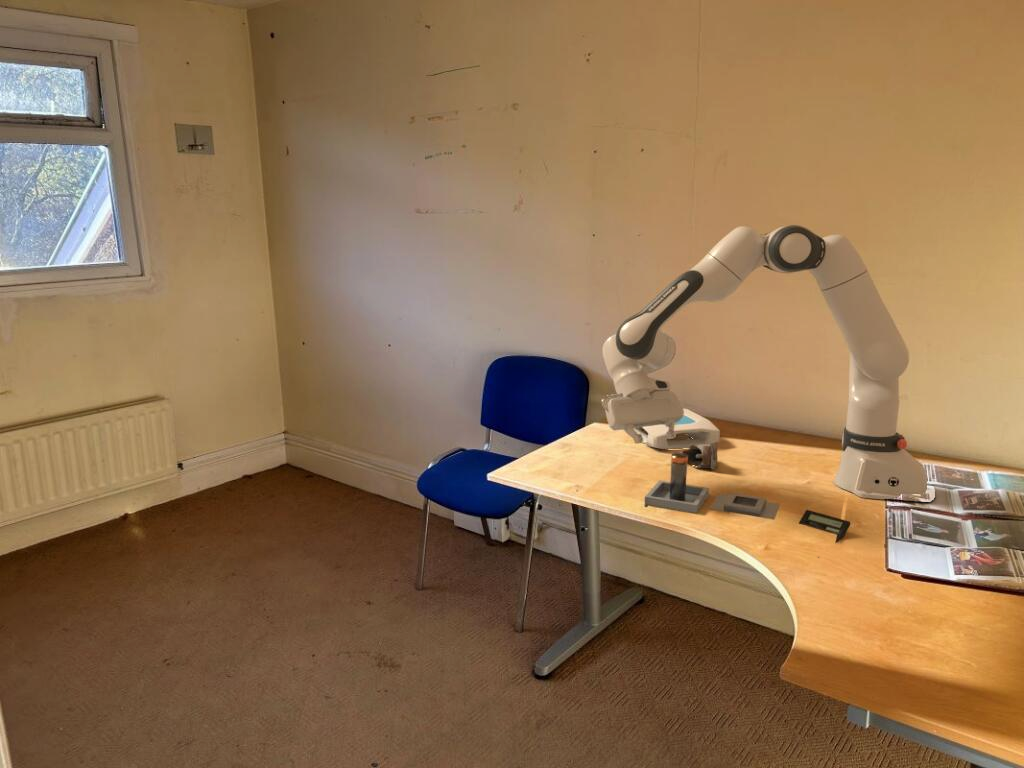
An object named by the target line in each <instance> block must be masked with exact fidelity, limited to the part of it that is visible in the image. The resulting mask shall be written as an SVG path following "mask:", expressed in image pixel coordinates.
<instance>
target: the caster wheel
mask: <svg viewBox="0 0 1024 768" xmlns="http://www.w3.org/2000/svg"><path fill="white" fill-rule="evenodd" d="M717 443H718V442H717ZM717 443H713V444H703V445H691V446H690V449H683V450H682V451H681V453H683V454H686V455H688V462H690V465H691V464H692V465H695V466H697V467H694V468H693V469H707V468H708V469H711V470H715V469H718V468H719V467H718V465H719V464H718V463H719V462H718V444H717Z"/></svg>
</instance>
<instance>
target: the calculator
mask: <svg viewBox="0 0 1024 768" xmlns="http://www.w3.org/2000/svg"><path fill="white" fill-rule="evenodd" d="M798 524H799V525H803V526H806V527H809V528H813V529H815V530H816V529H817V530H819V531H823V532H826V533H831V534H833V535H836V537H835V542H834V543H835V545H837V543H838V542H840V541H841V540H842V539H844V537H845V534H846V533H847V531H848V530H849V528H850V526H851V521H849V520H845V519H843V518H838V517H836V516H831V515H828V514H823V513H820V512H816V511H812V510H809V509H806V510H805V511H804V513H803V515H802V517H801V519H800V520H799V521H798Z"/></svg>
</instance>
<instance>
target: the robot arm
mask: <svg viewBox="0 0 1024 768" xmlns="http://www.w3.org/2000/svg"><path fill="white" fill-rule="evenodd" d="M760 267H764V268H766V269H768V270H770V271H773V272H776V273H780V274H792V273H797V272H802V271H808V272H809V273H810V274H811V275H812V276H813V278H814V279H815V280H816V281H815V282H816V283H817V285H818V288H819V290H820V292H821V295H822V296H823V298H824V300H825V302H826V304H827V305H826V306H827V307H828V309H829V311H830V312H831V315H832V317H833V319H834V321H835V323H836V325H837V327H838V329H839V331H840V332H841V335H842V337H843V339H844V341H845V343H846V344H847V346H848V349H849V351H850V353H849V370H848V371H849V373H848V376H849V377H848V381H849V382H848V403H847V414H846V422H845V423H846V424H845V427H844V428H843V432H842V439H841V447H842V448H841V450H842V454H841V456H840V457H841V459H840V461H839V464H838V465H839V466H838V468H837V472H836V474H835V476H834V479H833V482H834V484H835V485H836V486H837V487H839V488H841V489H843V490H845V491H848V492H851V493H853V494H854V495H856V496H857V497H860V498H863V499H875V500H884V499H888V498H895V497H899V496H900V495H901V494H923V493H925V492H926V490H927V482H928V477H927V472H926V469H925V467H924V465H923V464H922V463H921V462H920V461H919V460H918V459H916V458H915V457H914V456H912V455H911V454H910V452H908V451H906V448H907V446H908V442H907V441H906V440H905V437H904V435H903V433H901V434H900V433H898V432H897V427H898V426H897V425H898V417H899V407H900V393H899V391H900V387H899V386H900V385H899V384H900V383H899V380H900V379H899V378H900V376H902V375H903V374H904V373H905V371H906V370H907V368H908V365H909V362H910V353H909V348H908V346H907V345H906V343H905V340H904V339H903V337H902V334H901V333H900V331H899V329H898V327H897V326H896V324H895V321H894V320H893V317H892V316H891V313H890V312H889V310H888V308H887V306H886V305H885V303H884V301H883V299H882V297H881V294H880V293H879V291H878V289H877V287H876V285H875V283H874V280H873V278H872V276H871V274H870V272H869V270H868V268H867V266H866V264H865V262H864V261H863V259H862V256H861V255H860V254H859V252H858V250H857V249H856V248H855V246H854V245H853V243H852V242H851V241H850V239H849V238H848V237H846V236H845V235H843V234H829V235H826V236H824V237H821V236H819V235H817V234H816V233H815V232H813V231H811V230H810V229H808V228H806V227H804V226H801V225H797V224H796V225H795V224H792V225H791V224H790V225H785V226H780V227H777V228H776V229H775V230H773V231H770V232H767V233H764V234H762V233H760V232H758V231H757V230H756V229H754V228H753V227H751V226H746V225H745V226H744V225H743V226H742V225H740V226H737V227H735V228H734V229H733V230H731V231H730V232H729V233H727V234H726V235H725V236H723V238H722V239H720V240H719V241H718V243H716V244H715V245H714V246H713V247H712V248H711V249H710V250H709V251H708V253H706V255H705V256H704V257H703V258H702V259H700V261H699V262H698V263H697V264H696V265H694V266H693V267H692V268H691V269H688V270H687V271H685V272H684V273H682V274H680V275H679V276H678V277H676V278H674V280H673V281H671V282H670V283H669V284H668V285H667V286H666V287H664V289H663V290H662V291H661V292H659V294H657V296H656V297H654V298H653V299H652V300H651V301H650V302H648V304H647V305H646V306H645V307H643V308H642V309H641V310H640V311H638V312H637V313H635V314H633V315H632V316H630V317H628V318H627V319H625V320H624V321H622V323H620V326H619V327H618V329H617V331H616V333H615V334H613V335H611V336H609V337H608V338H607V339H606V340H605V341H604V343H603V345H602V350H601V351H602V357H603V360H604V365H605V368H606V371H607V372H608V376H609V377H610V378H611V379H612V381H613V385H614V390H615V392H616V393H614V394H607V395H604V397H603V398H602V399H601V405H602V407H603V409H604V410H605V416H606V421H607V423H608V426H609V428H610V429H611V430H613V431H614V432H615V431H624V430H623V429H625V431H626V432H625V431H624V432H625V433H626V434H627V435H628V436H629V437H630V438H632V439H633V442H634V444H635V445H637V444H642V441H643V438H642V435H641V434H638V433H637V432H636V431H635V430H634V428H638V427H646V426H653V425H661V424H665V425H666V427H669V429H668V432H666V436H667V440H669V439H670V440H671V439H673V440H674V439H675V438H676V437H677V434H676V433H675V431H674V426H675V423H676V422H678V421H679V420H680V419H681V418H682V417H683V415H684V410H683V406H682V403H681V402H680V400H679V398H678V397H677V395H676V393H674V392H673V391H671V390H670V389H671V388H672V386H671V384H670V382H669V381H666V380H660V379H656V378H654V377H653V378H652V377H649V376H648V374H650V373H653V372H656V371H658V370H660V369H663V368H664V367H666V366H668V365H670V363H671V362H672V360H673V359H674V357H675V355H676V343H675V341H674V339H673V338H672V337H671V335H668V334H667V333H666V332H664V331H663V330H661V329H662V328H663V326H665V325H666V323H668V322H669V321H670V320H671V319H672V318H674V316H675V315H676V314H678V312H680V311H681V310H682V308H684V307H685V306H687V305H690V304H692V303H695V302H696V303H697V302H707V303H708V302H709V303H715V302H722V301H724V300H726V299H727V298H728V297H730V296H731V295H732V294H733V293H735V292H736V290H737V289H738V288H740V286H741V285H743V283H744V282H745V281H746V279H747V278H748V277H749V276H750V274H752V273H753V272H754V271H756V270H757V269H758V268H760Z"/></svg>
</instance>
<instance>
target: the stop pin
mask: <svg viewBox="0 0 1024 768" xmlns="http://www.w3.org/2000/svg"><path fill="white" fill-rule="evenodd" d="M670 459H671V461H670V480H669V482H670V499H672V500H678V501H684V502H685V494H686V485H687V473H688V462H689V461H688V455H686V454H683V453H682V452H674V453H672V454H671V458H670Z"/></svg>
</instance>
